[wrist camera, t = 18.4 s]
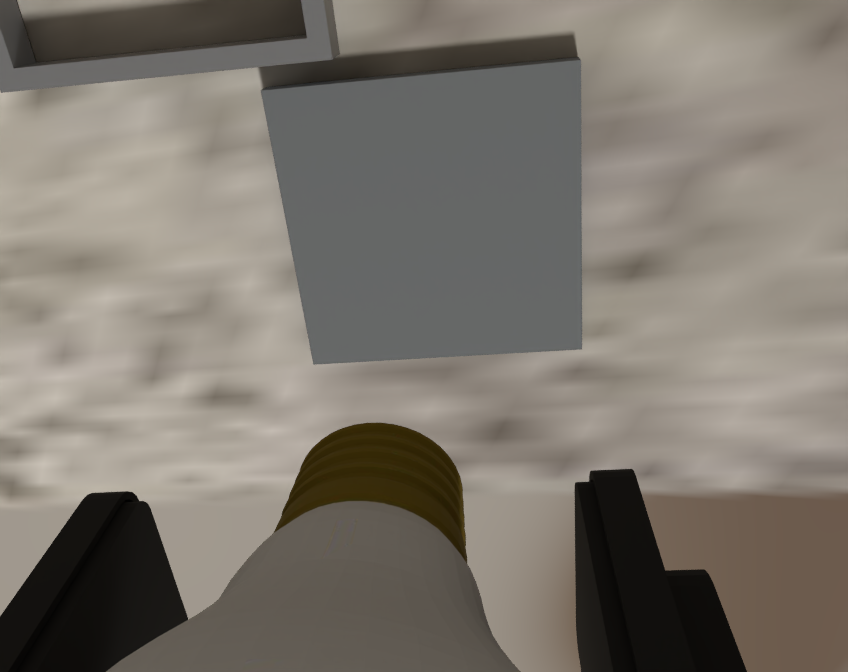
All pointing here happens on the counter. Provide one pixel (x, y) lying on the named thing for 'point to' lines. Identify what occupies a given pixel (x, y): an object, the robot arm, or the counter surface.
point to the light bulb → (349, 574)
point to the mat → (434, 210)
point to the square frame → (160, 54)
